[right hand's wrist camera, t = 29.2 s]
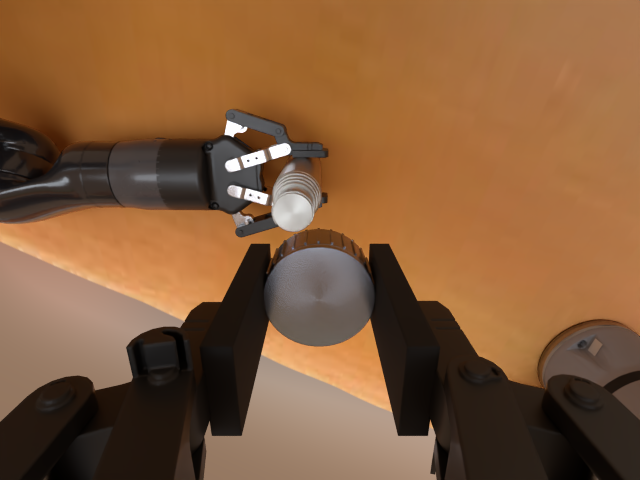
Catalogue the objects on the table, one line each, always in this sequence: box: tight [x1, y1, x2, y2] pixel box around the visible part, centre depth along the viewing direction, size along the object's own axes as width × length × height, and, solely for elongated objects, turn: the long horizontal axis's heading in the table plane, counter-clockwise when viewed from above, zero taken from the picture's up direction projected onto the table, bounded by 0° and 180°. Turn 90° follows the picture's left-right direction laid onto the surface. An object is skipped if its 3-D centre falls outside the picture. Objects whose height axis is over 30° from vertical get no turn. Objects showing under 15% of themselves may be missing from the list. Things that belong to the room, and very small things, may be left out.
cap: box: [264, 228, 376, 346], centre depth 14 cm, size 4×4×2 cm
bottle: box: [272, 155, 322, 232], centre depth 35 cm, size 4×4×21 cm
